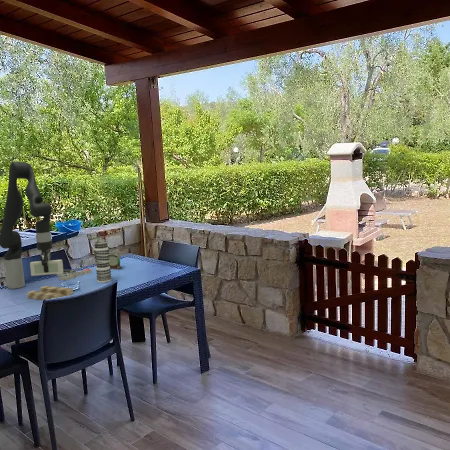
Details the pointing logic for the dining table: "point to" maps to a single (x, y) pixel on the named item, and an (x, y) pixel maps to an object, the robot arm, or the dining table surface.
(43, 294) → the tan bumpy slab
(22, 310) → the dining table surface
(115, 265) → the food container
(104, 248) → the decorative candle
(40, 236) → the robot arm
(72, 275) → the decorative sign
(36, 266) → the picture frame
